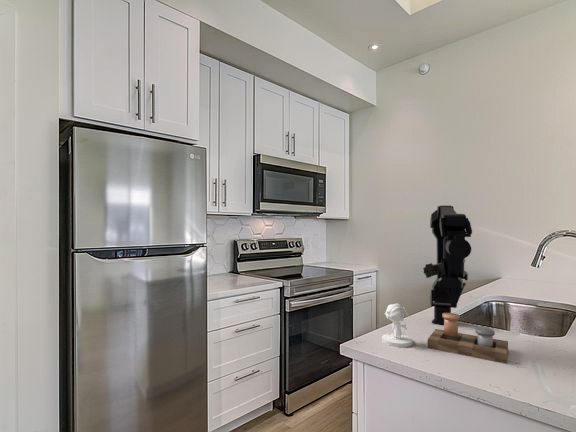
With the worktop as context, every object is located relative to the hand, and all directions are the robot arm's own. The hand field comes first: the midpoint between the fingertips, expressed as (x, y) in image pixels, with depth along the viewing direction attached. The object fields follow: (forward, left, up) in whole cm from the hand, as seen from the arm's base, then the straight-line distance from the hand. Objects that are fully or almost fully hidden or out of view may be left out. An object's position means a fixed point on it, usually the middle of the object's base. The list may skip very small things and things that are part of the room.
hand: (453, 306), depth 104 cm
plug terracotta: (0, -1, -8) cm, 8 cm away
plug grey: (0, +8, -11) cm, 14 cm away
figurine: (+6, -15, -12) cm, 20 cm away
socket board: (0, +4, -12) cm, 12 cm away
